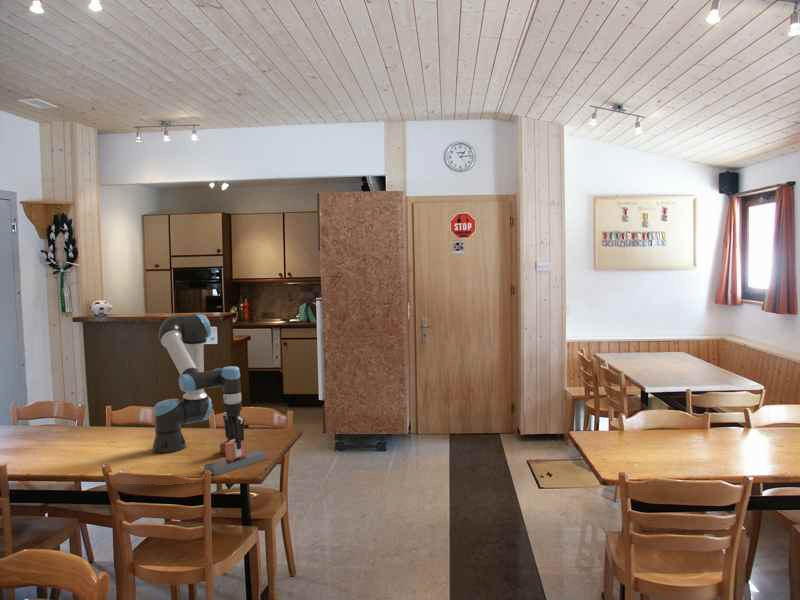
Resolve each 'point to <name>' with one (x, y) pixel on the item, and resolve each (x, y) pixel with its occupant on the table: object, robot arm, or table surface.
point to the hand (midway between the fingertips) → (235, 455)
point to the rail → (235, 462)
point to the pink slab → (231, 451)
